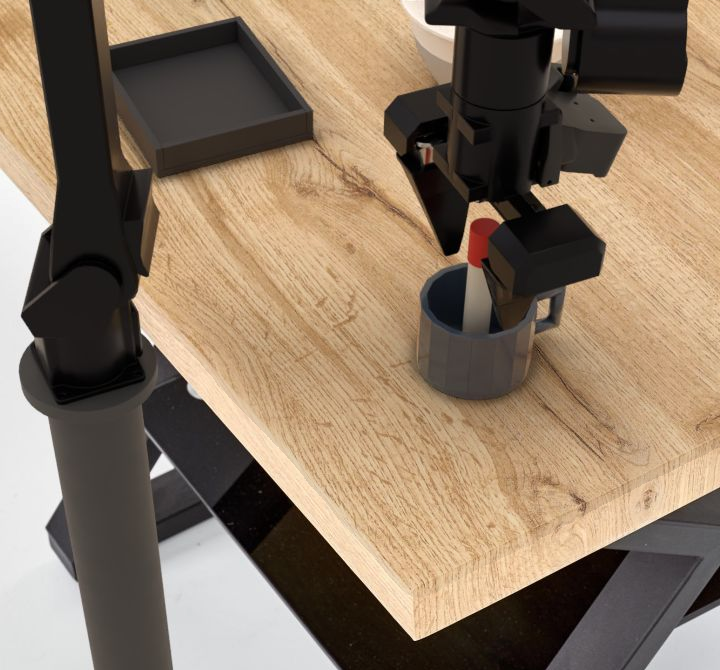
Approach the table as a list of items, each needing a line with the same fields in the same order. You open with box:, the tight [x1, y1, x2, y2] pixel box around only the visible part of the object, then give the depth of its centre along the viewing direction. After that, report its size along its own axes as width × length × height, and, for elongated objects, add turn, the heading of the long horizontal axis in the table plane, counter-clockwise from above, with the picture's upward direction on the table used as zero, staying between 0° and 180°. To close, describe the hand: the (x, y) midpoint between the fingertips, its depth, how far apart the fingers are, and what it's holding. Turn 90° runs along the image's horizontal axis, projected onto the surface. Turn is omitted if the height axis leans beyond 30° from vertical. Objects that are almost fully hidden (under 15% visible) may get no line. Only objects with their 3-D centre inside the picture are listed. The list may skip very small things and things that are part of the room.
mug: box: [415, 262, 567, 401], centre depth 107 cm, size 11×8×6 cm
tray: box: [109, 15, 314, 179], centre depth 128 cm, size 13×15×3 cm
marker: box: [462, 217, 501, 334], centre depth 105 cm, size 2×2×11 cm
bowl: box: [399, 0, 563, 85], centre depth 128 cm, size 16×16×8 cm
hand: (479, 289), depth 104 cm, fingers open, 8 cm apart
